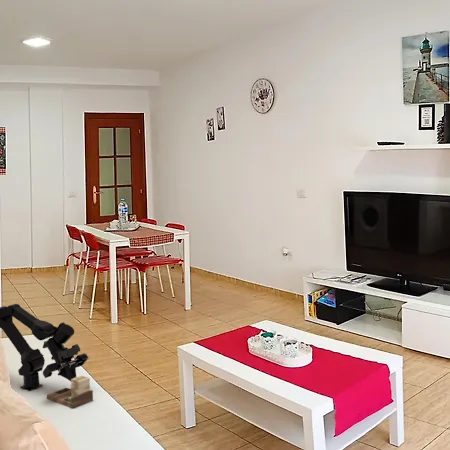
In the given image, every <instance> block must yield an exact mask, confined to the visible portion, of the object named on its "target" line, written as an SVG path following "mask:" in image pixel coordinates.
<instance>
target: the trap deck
mask: <svg viewBox="0 0 450 450" xmlns="http://www.w3.org/2000/svg"><path fill="white" fill-rule="evenodd" d="M93 393H94V391H93V390H92V389H90V391H87V392H85V393H82V394H80V395H77V396H74V397H72V394H71V388H70V387H63V388H62V389H59V390H56V391H53V392H51V393H48V394H46V399H48V400H49V401H53V402H55V403H58V404H60V405H63V406H65V407H68V408H70V409H77V408H78V407H80V406H83V405H86V404H88V403H90V402H93V401H94V394H93Z"/></svg>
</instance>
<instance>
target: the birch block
mask: <svg viewBox="0 0 450 450" xmlns="http://www.w3.org/2000/svg"><path fill="white" fill-rule="evenodd" d="M70 386H71V387H70V389H71V394H72V397H74V396H77V395H80V394H82V393H85V392H87V391H90V390H91V387H90V386H91V383H90V377H87V376H84V375H79V376H76V378H73V379H71V381H70Z"/></svg>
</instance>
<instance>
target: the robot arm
mask: <svg viewBox="0 0 450 450" xmlns="http://www.w3.org/2000/svg"><path fill="white" fill-rule="evenodd" d="M13 318H14V319H16V320H17V321H18V322H20V323H21V324H23V325H24V326H25V327H27V328H28V329H30V332H31V335H33V336H34V337H35V339H37V340H39V341H43V345H42V349H46V348H47V349H48V352H49V353H50V354H51V357H50V359H51V361H54V362H53V363H50V364H47V366H45V361H46V360H45V357H44V356H45V355H44V354H43V353H42V352H41V350H40V348H35V349H34V348H32V347H31V346H30V345H29V343H28V342H27V340H26V339H25V337H24V336H23V335H22V333H21V332H20V330H19V329H18V328H17V326H16V325H15V323H14V321H13ZM0 329H1V330H2V331H3V332H4V334H5V335H6V336H7V338H8V339H9V341H10V342H11V344H12V345H13V347H14V348H15V350H16V351H17V353H18V354H19V355H20V363H21V366H20V368H19V369H18V370H17V371H18V375H19V376H21V377H23V385H20V388H21V389H24V390H26V391H34V390H35V389H39V388H42V387H43V384H40V375H39V372H42V375H43V377H44V378H45V379H47V378H49V377H52V376H53V372H56V371H57V372H58V373H57V376H61V377H62V378H65V379H66V380H68V381H69V382H71V379H73V378H76V377H77V372H76V371H77V368H79V367H82V366H83V365H84V364H85V363H86V362H87V361H88V359H89V356H88V354H87V353H85V352H84V353H81V354H79V352H81V348H80V346H79V344H78V343H76V344H73V345H71V347H70V348H68V347H67V346H66V347H65V346H64V344H66V343H68V341H69V340H70V339H71V338H72V337H73V335H74V334H75V329H74V328H73V326H71V325H69V324H67V323H65V322H60V323H59V324H58V326H54V325H53V324H52V323H50V322H49V321H46V320H41V319H39V318H37V317H36V316H35V315H33V314H32V313H30V312H29V311H27V310H25V309H24V308H23V307H21V305H20V304H19V303H13V304H10V305H7V306H5V305H3V306H0ZM74 357H75V358H74ZM44 366H45V368H44ZM43 368H44V369H43Z"/></svg>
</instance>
